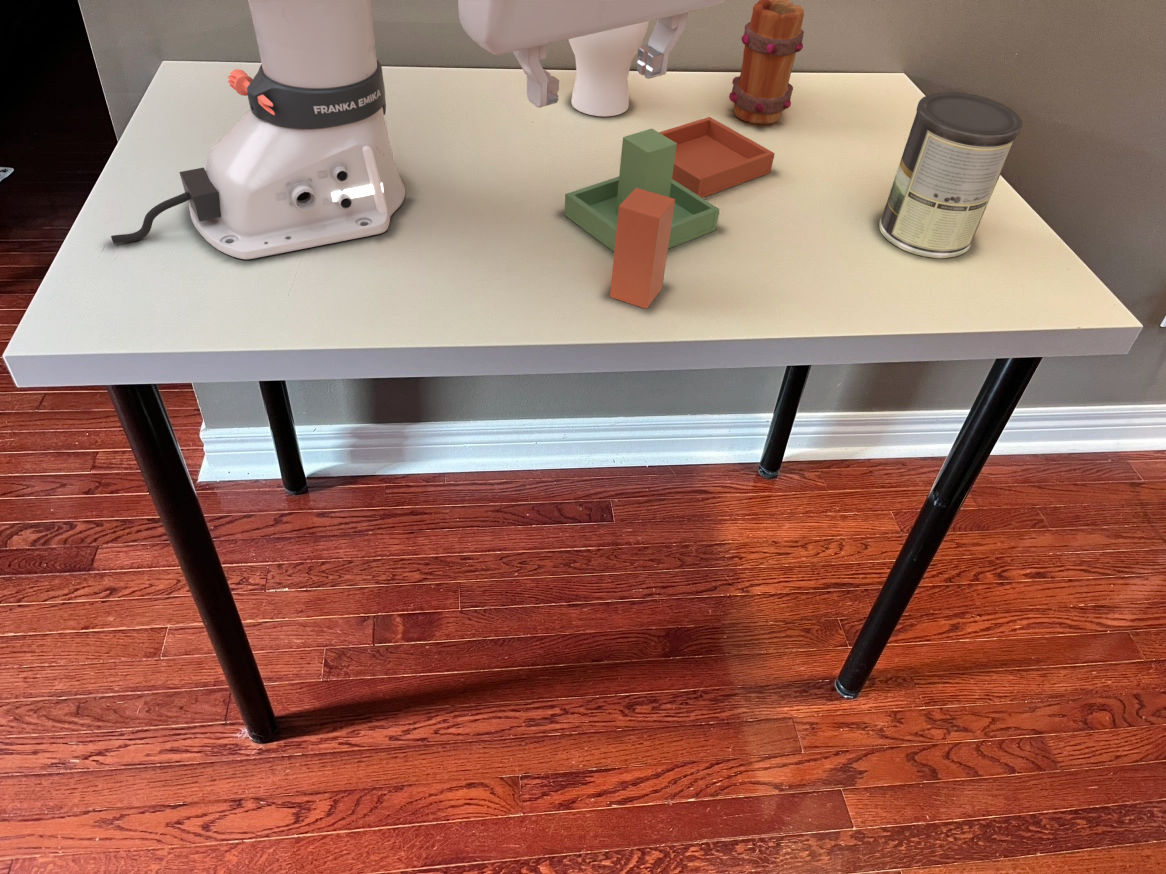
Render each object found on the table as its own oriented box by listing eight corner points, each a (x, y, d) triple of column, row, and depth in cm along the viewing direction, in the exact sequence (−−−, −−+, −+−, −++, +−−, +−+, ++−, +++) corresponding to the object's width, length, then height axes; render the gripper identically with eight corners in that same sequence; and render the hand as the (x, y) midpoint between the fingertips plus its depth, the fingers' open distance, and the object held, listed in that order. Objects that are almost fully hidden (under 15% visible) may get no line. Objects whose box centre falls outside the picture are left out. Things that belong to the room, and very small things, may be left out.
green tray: (630, 263, 91) (632, 242, 89) (564, 214, 97) (565, 193, 95) (716, 230, 97) (720, 209, 95) (648, 186, 103) (651, 165, 101)
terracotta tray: (696, 200, 101) (699, 179, 100) (632, 159, 107) (635, 139, 106) (770, 173, 107) (775, 153, 105) (706, 136, 113) (709, 116, 112)
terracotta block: (646, 309, 86) (659, 218, 79) (609, 297, 87) (618, 206, 80) (662, 288, 88) (675, 198, 81) (625, 277, 89) (636, 187, 82)
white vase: (562, 85, 122) (568, -33, 111) (639, 91, 122) (651, -26, 111) (558, 118, 114) (563, -5, 104) (639, 125, 114) (653, 3, 104)
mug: (785, 137, 115) (813, 16, 104) (723, 127, 115) (744, 6, 105) (789, 92, 125) (815, -22, 114) (731, 84, 126) (752, -30, 115)
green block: (638, 231, 95) (647, 152, 88) (615, 214, 97) (622, 136, 90) (666, 220, 96) (677, 143, 90) (642, 204, 99) (651, 127, 92)
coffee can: (859, 218, 101) (897, 97, 91) (929, 204, 104) (974, 86, 94) (917, 266, 94) (966, 141, 84) (990, 249, 97) (1045, 127, 88)
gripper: (714, -168, 58) (683, 42, 68) (439, -136, 50) (451, 100, 60) (779, -142, 55) (737, 75, 65) (496, -103, 46) (498, 141, 56)
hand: (598, 87), depth 62 cm, fingers open, 8 cm apart
